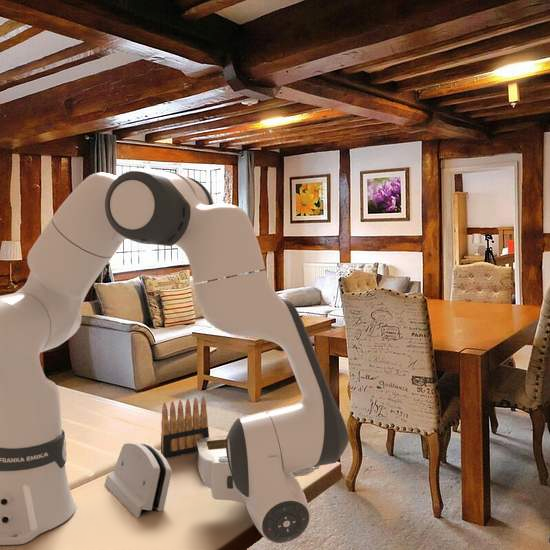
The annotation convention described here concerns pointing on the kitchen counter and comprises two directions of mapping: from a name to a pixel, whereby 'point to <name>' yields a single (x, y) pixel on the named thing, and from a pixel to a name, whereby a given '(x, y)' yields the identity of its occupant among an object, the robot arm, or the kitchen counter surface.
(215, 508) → the kitchen counter surface
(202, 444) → the square nut block
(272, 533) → the robot arm
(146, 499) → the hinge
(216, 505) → the kitchen counter surface
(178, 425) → the ammunition clip
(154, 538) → the kitchen counter surface
